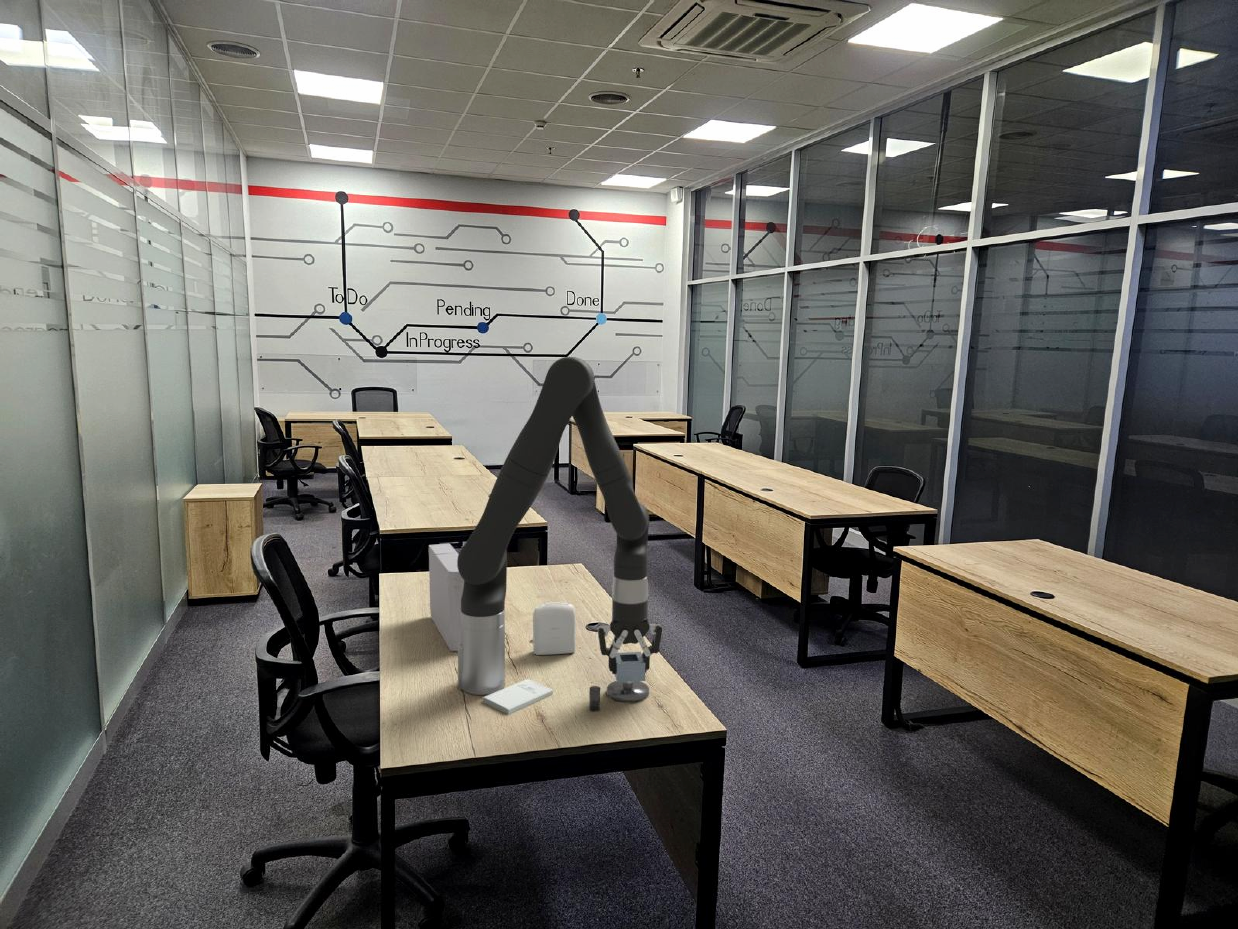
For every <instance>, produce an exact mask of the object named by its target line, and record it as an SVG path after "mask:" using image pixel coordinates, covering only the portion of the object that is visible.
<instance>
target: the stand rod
mask: <svg viewBox="0 0 1238 929" xmlns="http://www.w3.org/2000/svg"><path fill="white" fill-rule="evenodd" d="M588 696H589V697H588V698H589V700H588V701H589V702H588V705H589V706H588V707H589V711H590V712H593V713H595V712H599V711H600V710H601V687H600V686H598V685H592V686H590V687H589V695H588Z"/></svg>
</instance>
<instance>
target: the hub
mask: <svg viewBox="0 0 1238 929" xmlns="http://www.w3.org/2000/svg"><path fill="white" fill-rule="evenodd" d="M606 695H607V696H608V697H609V699H611V700H614V701H616V702H622V703H626V702H632V703H638V702H642V701H644V700H646V699H647V698H648V697H649V695H650V687H649V686H648V684H646V683H645V682H644V681H634V682H617V681H616V680H615V681H612V682H611V683H608V685H607V687H606Z"/></svg>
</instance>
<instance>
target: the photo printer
mask: <svg viewBox="0 0 1238 929" xmlns="http://www.w3.org/2000/svg"><path fill="white" fill-rule="evenodd" d="M532 642H533V643H532V647H533V651H532V652H533V654H534V655H535V654H536V656H539V655H540V656H543V655H544V656H545V655H547V656H548V655H549V656H550V655H563V654H565V655H566V654H573V653H575V652H576V611H575V607H574V604H570V603H566V602H557V601H556V602H553V601H552V602H547V603H543V604H542V603H541V604H539V605H537V606H535V607H534V610H533V615H532Z"/></svg>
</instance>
